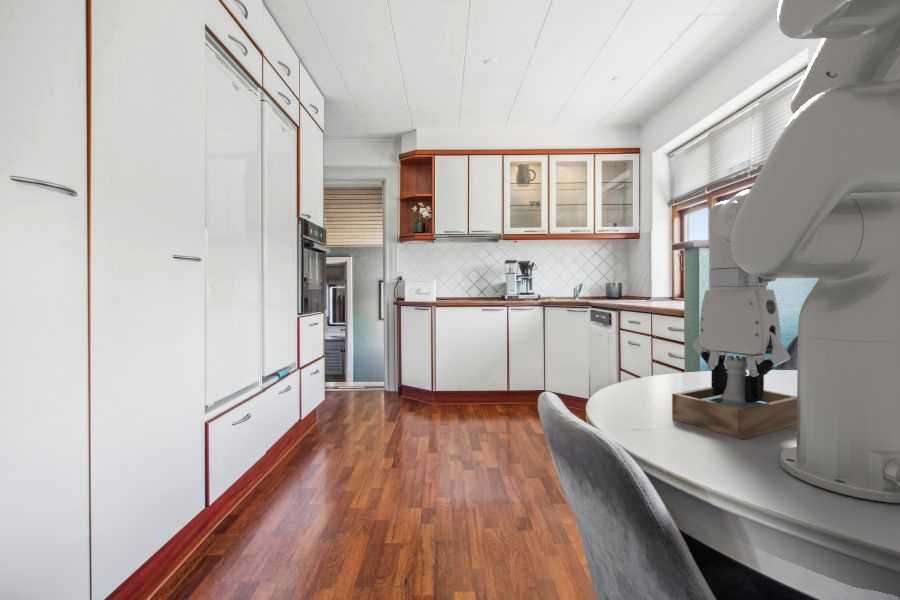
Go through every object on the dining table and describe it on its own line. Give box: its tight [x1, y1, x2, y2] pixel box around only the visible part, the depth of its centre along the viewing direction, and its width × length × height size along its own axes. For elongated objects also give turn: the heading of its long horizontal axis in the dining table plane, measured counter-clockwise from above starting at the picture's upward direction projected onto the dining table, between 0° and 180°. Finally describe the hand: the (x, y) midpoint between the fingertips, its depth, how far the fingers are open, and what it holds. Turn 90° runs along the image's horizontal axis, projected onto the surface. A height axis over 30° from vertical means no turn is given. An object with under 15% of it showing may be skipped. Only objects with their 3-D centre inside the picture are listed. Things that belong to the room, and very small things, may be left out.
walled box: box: [671, 386, 797, 441], centre depth 69 cm, size 11×15×4 cm
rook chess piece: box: [720, 355, 753, 408], centre depth 69 cm, size 4×4×8 cm
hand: (736, 396), depth 69 cm, fingers closed on rook chess piece, 4 cm apart
